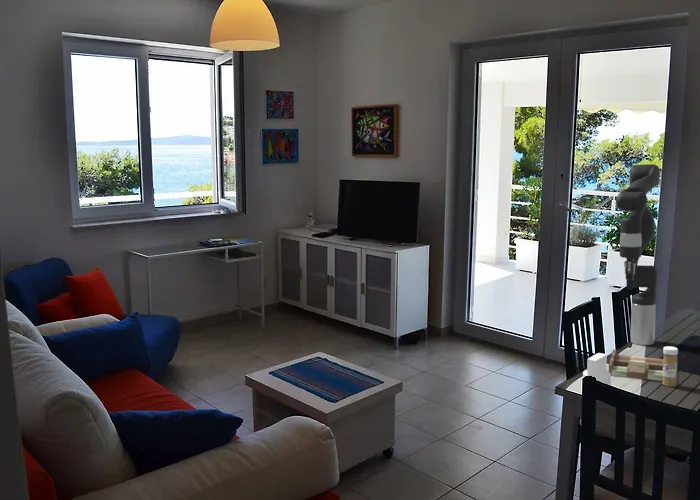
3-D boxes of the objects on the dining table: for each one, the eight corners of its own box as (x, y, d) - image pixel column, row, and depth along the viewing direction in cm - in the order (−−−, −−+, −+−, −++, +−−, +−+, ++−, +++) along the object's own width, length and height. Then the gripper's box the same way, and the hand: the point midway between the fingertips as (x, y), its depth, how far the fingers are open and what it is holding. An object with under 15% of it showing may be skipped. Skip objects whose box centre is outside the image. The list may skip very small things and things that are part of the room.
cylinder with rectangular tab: (589, 383, 223) (590, 351, 221) (615, 389, 216) (615, 356, 214) (578, 390, 216) (578, 357, 215) (603, 396, 210) (604, 362, 208)
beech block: (630, 366, 232) (630, 356, 231) (645, 367, 229) (645, 357, 229) (629, 371, 226) (629, 361, 226) (644, 373, 224) (644, 362, 224)
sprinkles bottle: (660, 385, 217) (661, 348, 215) (664, 381, 221) (665, 345, 219) (675, 388, 214) (676, 350, 212) (678, 384, 218) (679, 347, 216)
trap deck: (613, 359, 246) (613, 349, 246) (666, 364, 237) (667, 354, 237) (608, 374, 230) (608, 364, 229) (666, 381, 221) (666, 370, 220)
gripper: (640, 247, 228) (639, 293, 230) (642, 242, 239) (641, 286, 242) (618, 246, 231) (617, 292, 234) (621, 241, 243) (620, 285, 245)
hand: (629, 289), depth 238 cm, fingers closed
